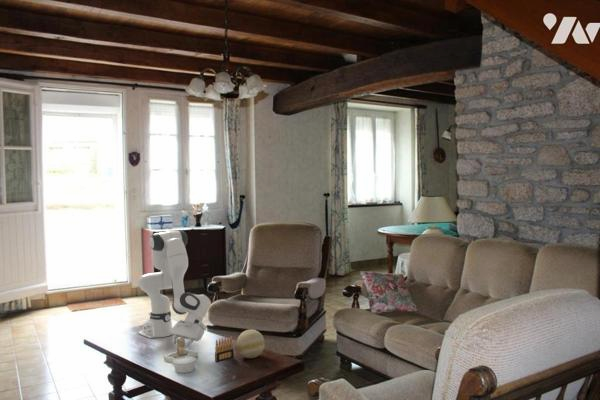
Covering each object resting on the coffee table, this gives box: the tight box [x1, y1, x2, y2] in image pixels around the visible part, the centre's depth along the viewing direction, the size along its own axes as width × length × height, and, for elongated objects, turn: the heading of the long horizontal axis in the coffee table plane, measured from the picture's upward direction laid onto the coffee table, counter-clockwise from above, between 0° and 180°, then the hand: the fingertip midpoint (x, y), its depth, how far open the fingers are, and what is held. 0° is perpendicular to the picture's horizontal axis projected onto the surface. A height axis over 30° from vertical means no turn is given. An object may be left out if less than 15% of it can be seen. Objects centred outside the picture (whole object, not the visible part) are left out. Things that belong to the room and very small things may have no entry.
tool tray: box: [163, 348, 199, 364], centre depth 276 cm, size 11×15×2 cm
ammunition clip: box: [214, 335, 235, 364], centre depth 272 cm, size 11×2×12 cm, turn 130°
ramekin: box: [172, 356, 197, 374], centre depth 259 cm, size 11×11×5 cm
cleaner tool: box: [174, 337, 188, 358], centre depth 276 cm, size 3×7×10 cm, turn 147°
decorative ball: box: [236, 328, 266, 359], centre depth 275 cm, size 15×15×15 cm
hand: (179, 344), depth 275 cm, fingers open, 8 cm apart
